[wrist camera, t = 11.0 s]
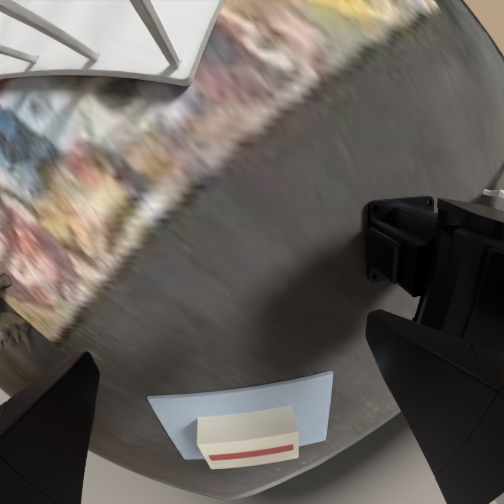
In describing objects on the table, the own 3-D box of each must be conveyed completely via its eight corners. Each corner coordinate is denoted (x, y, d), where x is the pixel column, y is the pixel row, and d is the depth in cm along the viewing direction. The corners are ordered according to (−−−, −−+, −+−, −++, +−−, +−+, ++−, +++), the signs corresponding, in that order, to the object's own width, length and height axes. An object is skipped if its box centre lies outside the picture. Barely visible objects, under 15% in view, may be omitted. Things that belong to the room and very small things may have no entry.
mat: (331, 370, 24) (333, 373, 24) (324, 437, 29) (325, 440, 29) (147, 395, 23) (147, 398, 23) (184, 457, 28) (184, 459, 27)
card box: (197, 417, 24) (197, 445, 21) (290, 405, 25) (298, 431, 22) (210, 445, 27) (211, 470, 23) (292, 434, 27) (298, 458, 24)
